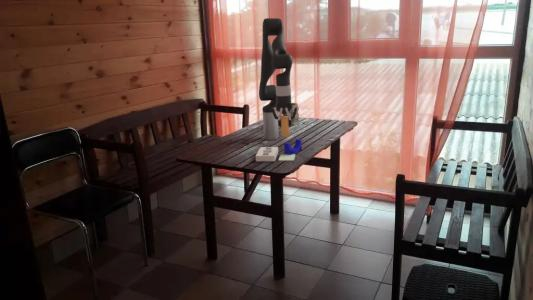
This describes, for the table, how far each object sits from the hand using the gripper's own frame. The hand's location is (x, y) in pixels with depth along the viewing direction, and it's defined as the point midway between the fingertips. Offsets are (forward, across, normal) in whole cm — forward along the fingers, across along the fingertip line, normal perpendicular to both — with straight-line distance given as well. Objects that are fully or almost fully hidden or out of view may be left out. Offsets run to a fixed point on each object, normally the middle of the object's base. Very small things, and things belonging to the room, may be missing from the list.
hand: (285, 126), depth 230 cm
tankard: (+17, +9, -80) cm, 82 cm away
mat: (+17, 0, 0) cm, 17 cm away
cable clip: (+17, -3, -10) cm, 20 cm away
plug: (+5, 0, 0) cm, 5 cm away
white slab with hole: (+17, +11, -3) cm, 21 cm away
